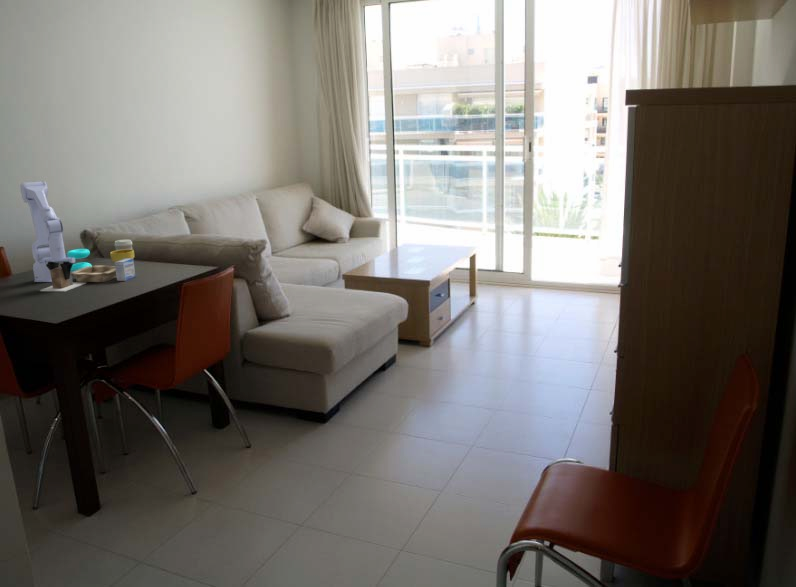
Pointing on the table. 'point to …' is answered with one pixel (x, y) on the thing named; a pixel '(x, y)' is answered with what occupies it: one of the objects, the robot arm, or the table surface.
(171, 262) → the table surface
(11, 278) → the table surface
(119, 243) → the coffee cup
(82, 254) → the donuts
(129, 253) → the plant pot
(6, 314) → the table surface
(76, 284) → the felt mat
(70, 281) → the walnut box
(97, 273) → the carton
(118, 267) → the medicine box
